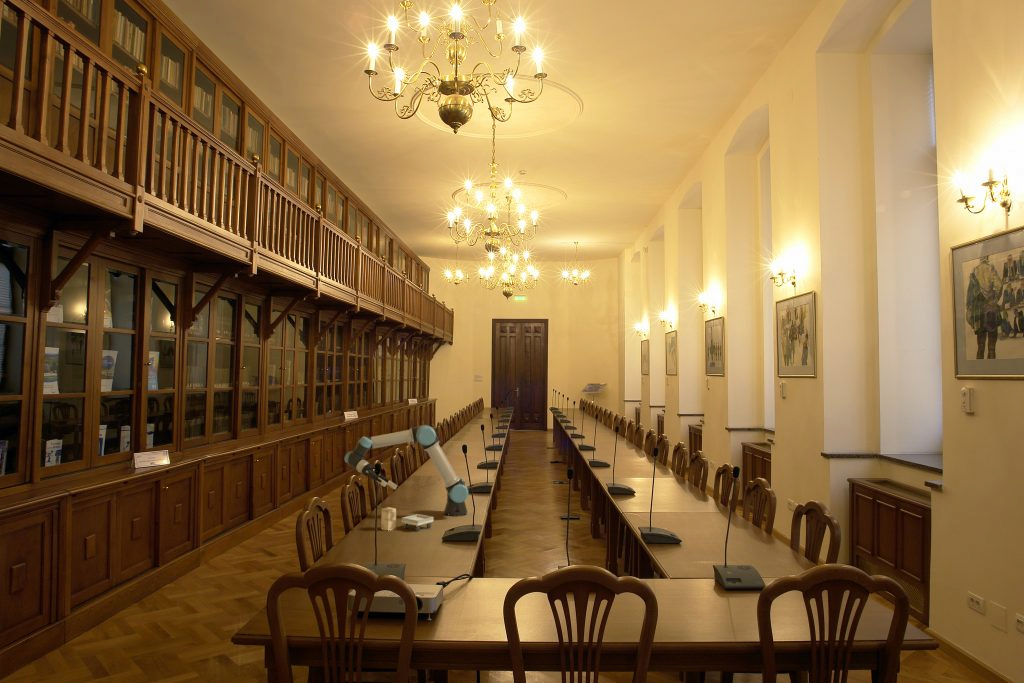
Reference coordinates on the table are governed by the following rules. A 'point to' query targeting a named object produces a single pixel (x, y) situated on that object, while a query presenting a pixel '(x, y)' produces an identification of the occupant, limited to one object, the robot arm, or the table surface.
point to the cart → (417, 521)
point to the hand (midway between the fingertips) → (390, 486)
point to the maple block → (388, 518)
